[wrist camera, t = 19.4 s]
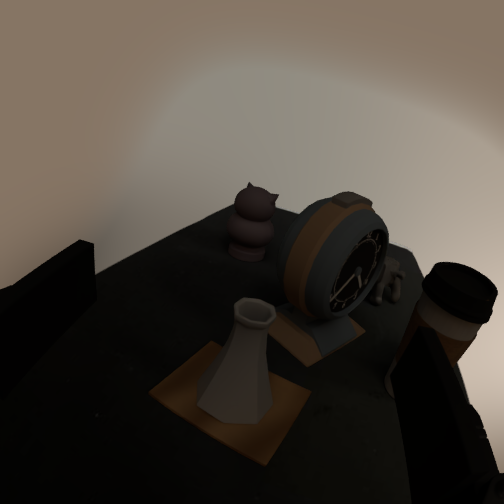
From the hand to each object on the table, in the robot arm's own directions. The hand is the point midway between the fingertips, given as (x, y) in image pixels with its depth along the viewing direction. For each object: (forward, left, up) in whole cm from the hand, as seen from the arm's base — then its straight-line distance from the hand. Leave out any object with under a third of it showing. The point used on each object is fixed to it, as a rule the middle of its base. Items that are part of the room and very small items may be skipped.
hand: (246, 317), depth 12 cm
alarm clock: (-1, +25, -17) cm, 30 cm away
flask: (-3, +9, -16) cm, 19 cm away
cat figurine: (-18, +37, -17) cm, 45 cm away
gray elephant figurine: (+4, +39, -17) cm, 43 cm away
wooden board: (-3, +9, -17) cm, 19 cm away
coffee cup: (+13, +21, -17) cm, 30 cm away
